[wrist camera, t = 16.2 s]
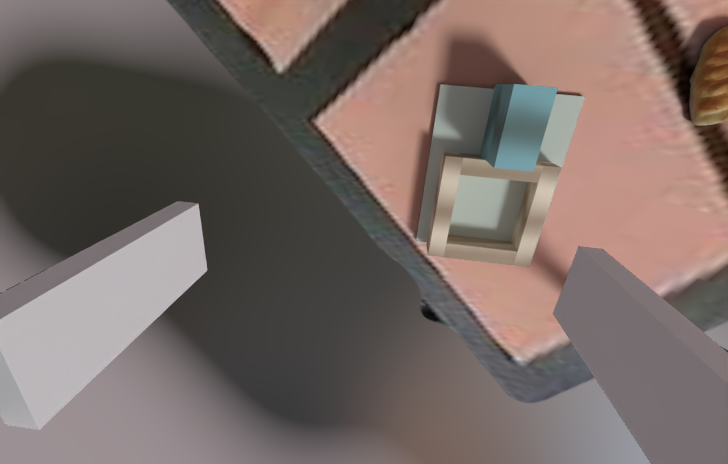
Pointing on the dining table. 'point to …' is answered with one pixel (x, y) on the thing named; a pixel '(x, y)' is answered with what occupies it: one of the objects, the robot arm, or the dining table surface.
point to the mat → (465, 135)
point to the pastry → (711, 82)
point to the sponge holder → (501, 176)
